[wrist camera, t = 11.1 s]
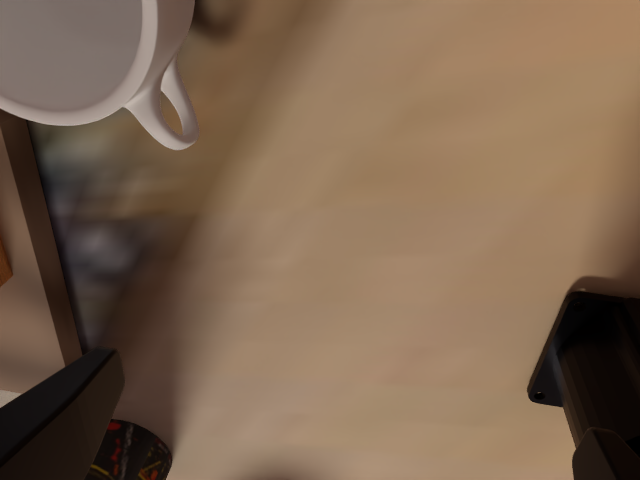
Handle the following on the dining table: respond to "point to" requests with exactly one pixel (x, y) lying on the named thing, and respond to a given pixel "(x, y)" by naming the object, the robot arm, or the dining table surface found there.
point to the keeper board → (30, 271)
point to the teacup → (96, 62)
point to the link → (4, 265)
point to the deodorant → (130, 455)
